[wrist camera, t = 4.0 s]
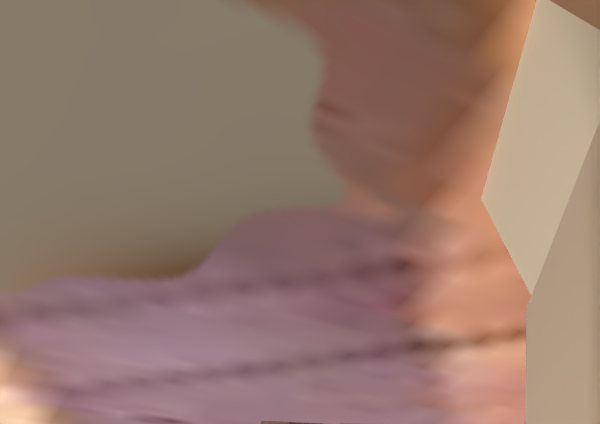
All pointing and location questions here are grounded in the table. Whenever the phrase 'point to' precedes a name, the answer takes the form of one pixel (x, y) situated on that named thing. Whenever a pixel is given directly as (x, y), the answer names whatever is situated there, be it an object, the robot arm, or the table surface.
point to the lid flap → (568, 312)
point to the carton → (545, 130)
